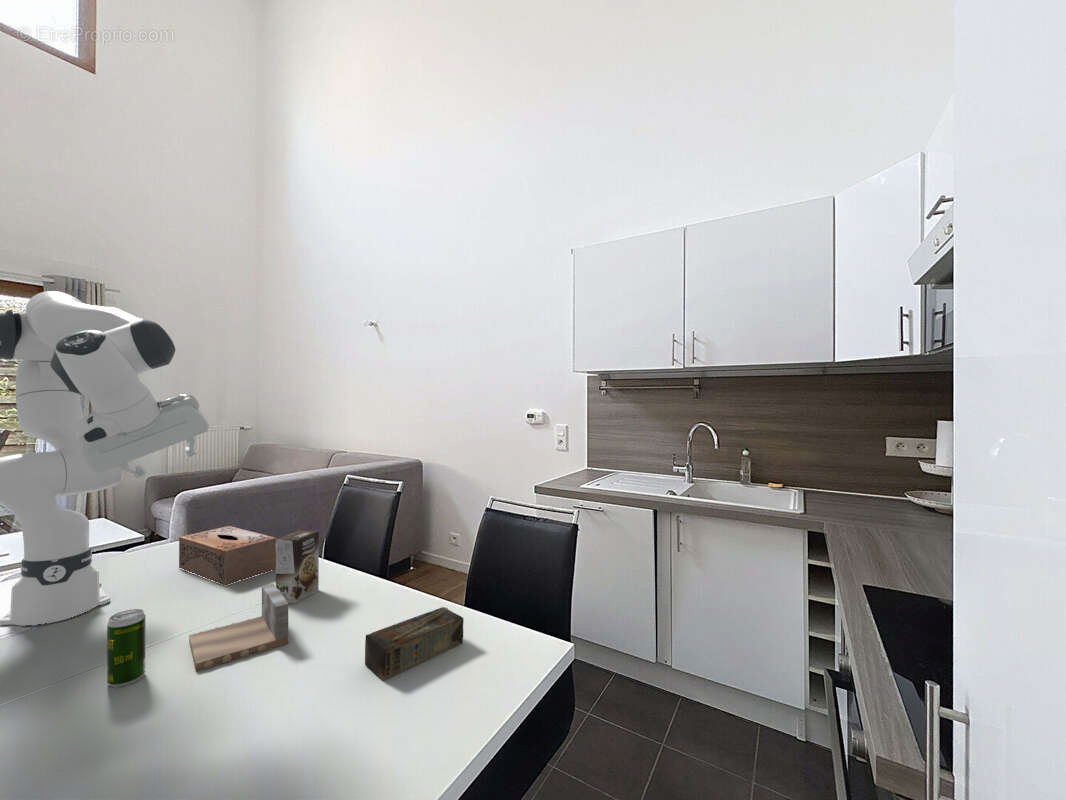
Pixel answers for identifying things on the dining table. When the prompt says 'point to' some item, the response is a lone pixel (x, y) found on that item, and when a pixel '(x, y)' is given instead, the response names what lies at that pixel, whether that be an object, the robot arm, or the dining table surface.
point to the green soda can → (125, 647)
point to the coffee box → (297, 565)
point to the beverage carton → (412, 642)
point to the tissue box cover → (227, 554)
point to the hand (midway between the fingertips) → (167, 464)
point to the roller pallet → (243, 634)
